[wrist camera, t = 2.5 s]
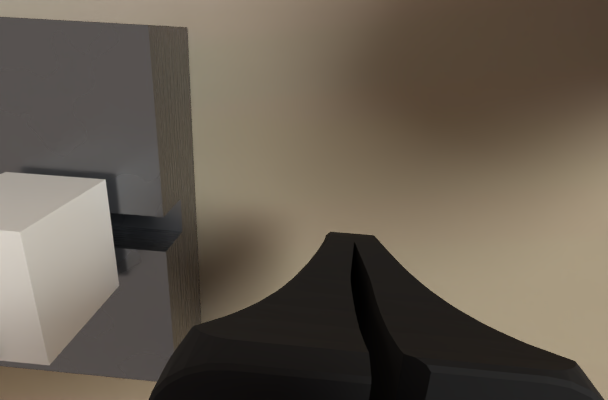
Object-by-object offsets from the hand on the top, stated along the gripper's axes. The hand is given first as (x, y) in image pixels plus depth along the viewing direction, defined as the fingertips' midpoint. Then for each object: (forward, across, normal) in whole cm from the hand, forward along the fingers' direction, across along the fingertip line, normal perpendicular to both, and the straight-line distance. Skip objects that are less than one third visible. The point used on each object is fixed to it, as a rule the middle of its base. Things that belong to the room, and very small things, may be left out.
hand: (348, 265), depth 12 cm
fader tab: (+2, +9, 0) cm, 9 cm away
